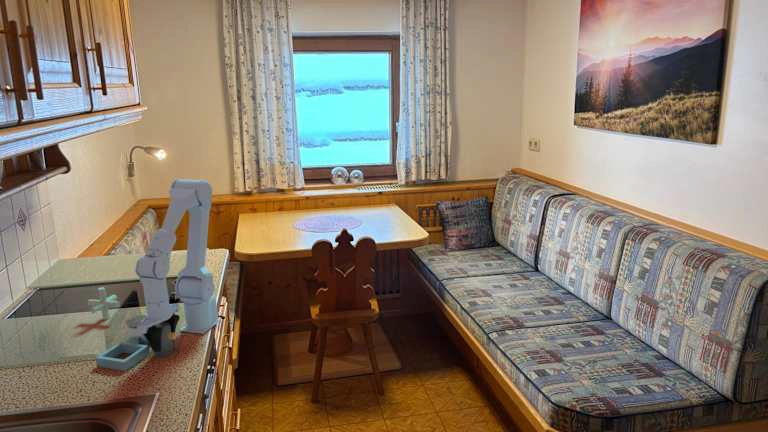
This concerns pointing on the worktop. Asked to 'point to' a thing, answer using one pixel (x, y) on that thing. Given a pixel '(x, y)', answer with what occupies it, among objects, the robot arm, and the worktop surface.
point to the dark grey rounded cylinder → (166, 340)
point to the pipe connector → (103, 303)
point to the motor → (136, 331)
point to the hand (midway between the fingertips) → (163, 346)
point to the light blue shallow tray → (111, 362)
